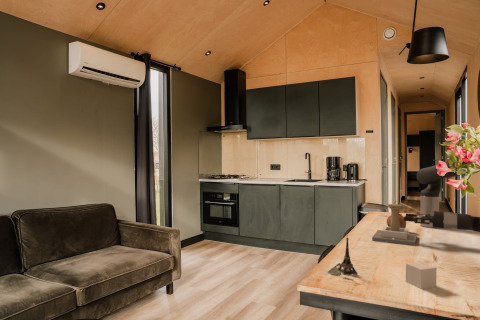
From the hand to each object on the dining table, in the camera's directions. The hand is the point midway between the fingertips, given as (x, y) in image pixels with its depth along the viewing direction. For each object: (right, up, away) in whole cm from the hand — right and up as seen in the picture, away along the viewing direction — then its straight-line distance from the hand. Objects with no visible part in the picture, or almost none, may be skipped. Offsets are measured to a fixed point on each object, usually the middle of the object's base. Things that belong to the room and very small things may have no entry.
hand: (405, 217), depth 160 cm
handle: (-4, -10, +2) cm, 11 cm away
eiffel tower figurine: (-42, -12, -43) cm, 62 cm away
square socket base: (-4, -11, +2) cm, 12 cm away
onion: (+4, -11, +18) cm, 22 cm away
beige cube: (-22, -12, -55) cm, 61 cm away
